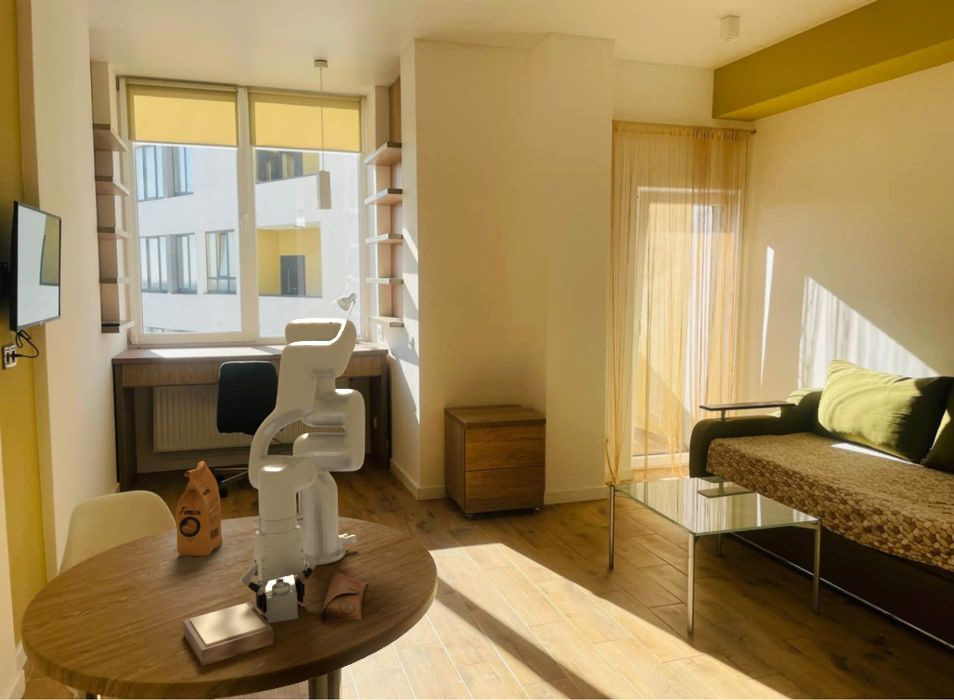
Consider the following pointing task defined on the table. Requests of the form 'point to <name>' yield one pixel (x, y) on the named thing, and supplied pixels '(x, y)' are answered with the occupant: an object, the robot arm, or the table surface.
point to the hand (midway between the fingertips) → (281, 604)
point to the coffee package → (199, 514)
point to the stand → (227, 633)
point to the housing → (281, 600)
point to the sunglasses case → (343, 599)
